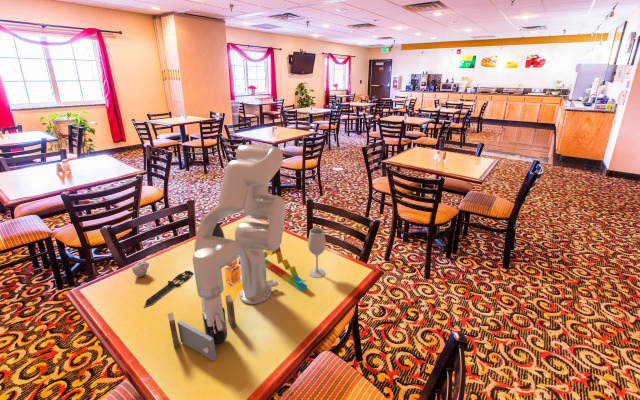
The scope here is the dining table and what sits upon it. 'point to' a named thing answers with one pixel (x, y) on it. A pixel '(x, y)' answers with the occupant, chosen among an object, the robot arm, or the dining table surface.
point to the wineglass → (316, 249)
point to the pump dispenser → (218, 231)
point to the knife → (170, 283)
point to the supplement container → (210, 331)
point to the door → (197, 340)
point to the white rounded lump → (140, 268)
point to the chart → (283, 274)
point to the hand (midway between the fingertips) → (216, 332)
